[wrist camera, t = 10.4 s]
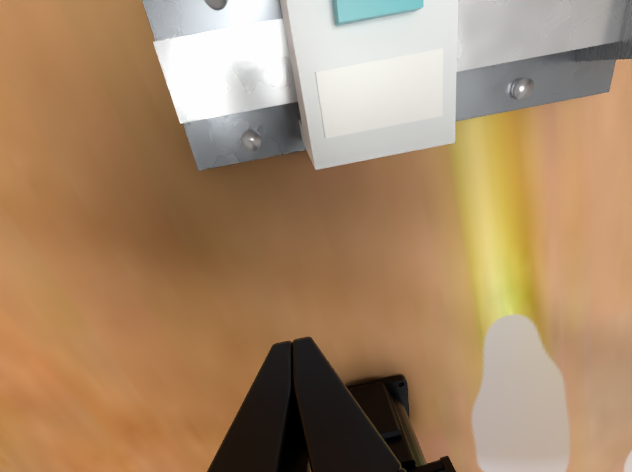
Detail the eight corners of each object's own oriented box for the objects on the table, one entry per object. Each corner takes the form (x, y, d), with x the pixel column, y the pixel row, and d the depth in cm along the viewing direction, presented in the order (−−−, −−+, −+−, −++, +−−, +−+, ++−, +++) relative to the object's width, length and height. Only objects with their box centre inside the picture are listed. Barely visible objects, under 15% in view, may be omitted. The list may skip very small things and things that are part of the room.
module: (397, 122, 17) (464, 145, 11) (302, 140, 17) (317, 174, 11) (388, -51, 14) (473, -146, 8) (271, -30, 14) (269, -111, 8)
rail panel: (595, 91, 18) (669, 94, 15) (201, 166, 18) (183, 188, 14) (634, -102, 15) (742, -157, 11) (141, -17, 14) (99, -47, 11)
